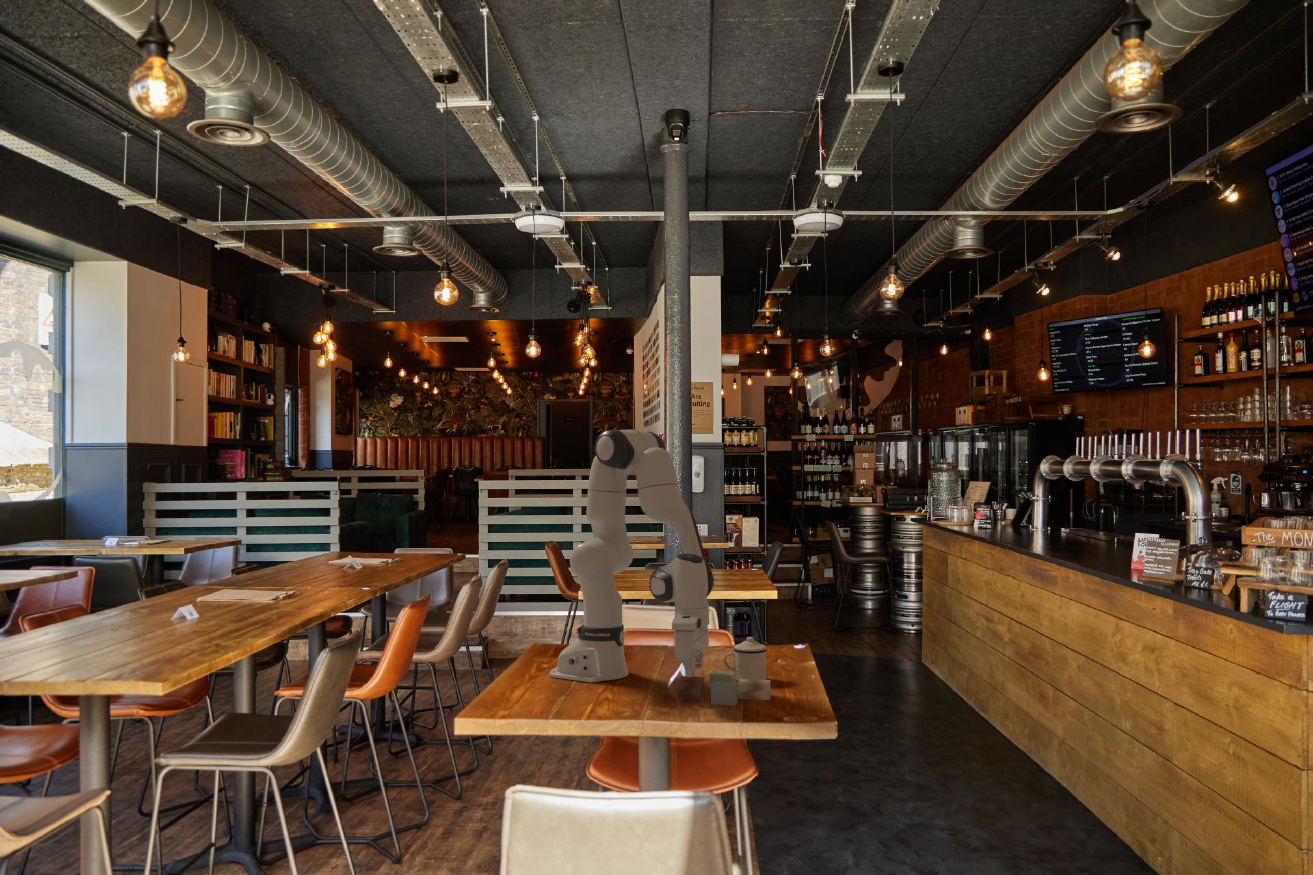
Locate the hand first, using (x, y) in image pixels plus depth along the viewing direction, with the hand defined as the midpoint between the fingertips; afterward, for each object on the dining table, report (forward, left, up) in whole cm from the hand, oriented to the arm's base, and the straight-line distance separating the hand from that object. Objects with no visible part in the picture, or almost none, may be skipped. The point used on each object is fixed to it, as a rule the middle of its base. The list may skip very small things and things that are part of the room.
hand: (694, 672), depth 220 cm
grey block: (+9, -3, -7) cm, 11 cm away
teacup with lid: (+9, +22, -7) cm, 25 cm away
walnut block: (-1, 0, -7) cm, 7 cm away
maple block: (+15, +5, -7) cm, 17 cm away
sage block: (+6, +7, -7) cm, 11 cm away
